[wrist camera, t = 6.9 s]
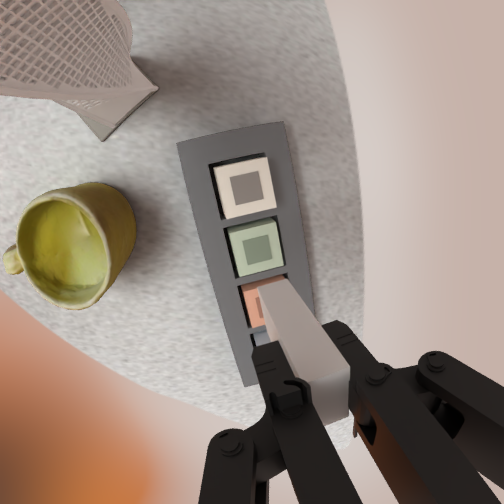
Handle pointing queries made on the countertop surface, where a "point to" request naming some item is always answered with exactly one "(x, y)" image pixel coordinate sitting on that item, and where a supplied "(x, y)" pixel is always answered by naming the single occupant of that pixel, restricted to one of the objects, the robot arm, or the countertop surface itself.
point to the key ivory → (245, 187)
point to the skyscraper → (72, 58)
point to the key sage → (255, 246)
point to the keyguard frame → (212, 223)
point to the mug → (73, 243)
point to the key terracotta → (256, 299)
